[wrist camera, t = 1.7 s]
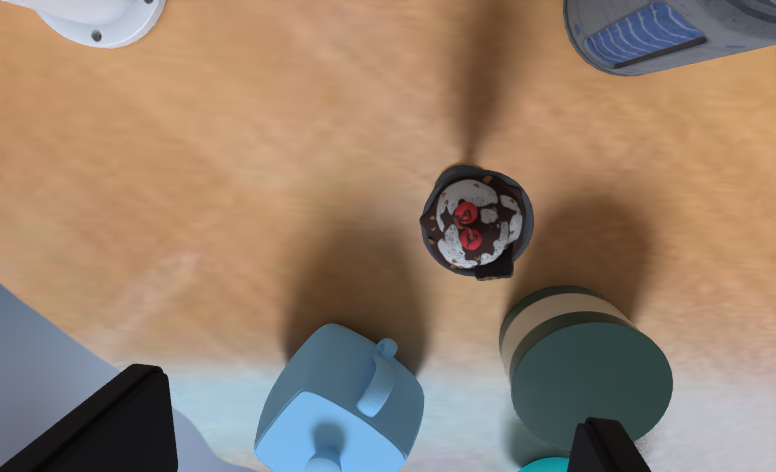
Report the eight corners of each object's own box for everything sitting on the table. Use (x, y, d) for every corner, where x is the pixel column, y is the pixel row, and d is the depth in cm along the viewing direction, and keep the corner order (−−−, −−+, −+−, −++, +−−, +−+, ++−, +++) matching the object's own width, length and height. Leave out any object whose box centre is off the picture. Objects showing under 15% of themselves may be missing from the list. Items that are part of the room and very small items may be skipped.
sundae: (430, 148, 33) (430, 170, 18) (511, 162, 32) (577, 194, 18) (416, 225, 35) (407, 298, 20) (493, 238, 34) (539, 323, 20)
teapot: (249, 410, 42) (185, 512, 31) (343, 285, 37) (306, 355, 26) (345, 472, 43) (316, 593, 32) (449, 360, 38) (457, 457, 27)
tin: (504, 279, 35) (521, 315, 28) (639, 288, 34) (690, 328, 27) (490, 388, 38) (503, 445, 32) (613, 400, 37) (654, 460, 31)
